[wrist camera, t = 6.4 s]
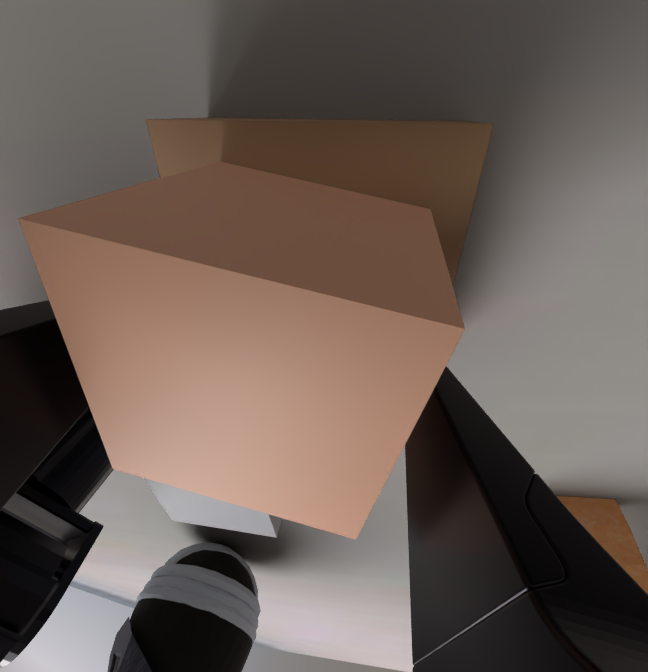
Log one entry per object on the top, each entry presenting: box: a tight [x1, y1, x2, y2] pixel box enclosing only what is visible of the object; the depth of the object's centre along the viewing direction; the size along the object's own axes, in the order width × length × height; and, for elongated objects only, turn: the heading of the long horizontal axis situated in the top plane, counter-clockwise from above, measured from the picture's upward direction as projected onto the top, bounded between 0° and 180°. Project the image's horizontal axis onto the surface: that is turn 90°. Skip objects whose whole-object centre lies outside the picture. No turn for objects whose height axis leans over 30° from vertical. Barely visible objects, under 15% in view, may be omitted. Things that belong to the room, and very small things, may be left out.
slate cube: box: [144, 478, 282, 538], centre depth 18 cm, size 6×6×6 cm
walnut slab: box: [146, 118, 493, 285], centre depth 12 cm, size 9×9×4 cm
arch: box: [557, 496, 648, 594], centre depth 21 cm, size 6×20×10 cm, turn 11°
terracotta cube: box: [18, 161, 465, 540], centre depth 8 cm, size 6×6×6 cm
